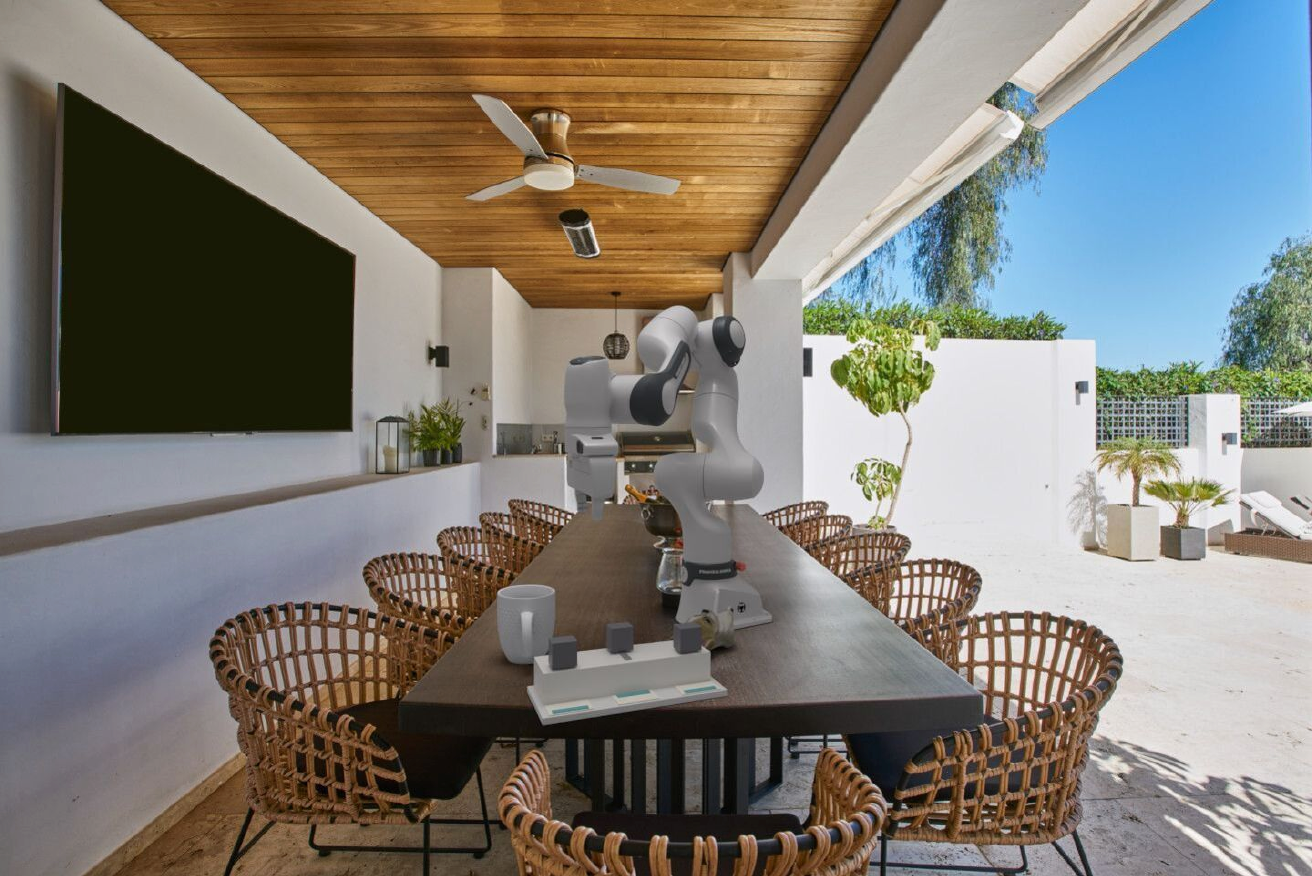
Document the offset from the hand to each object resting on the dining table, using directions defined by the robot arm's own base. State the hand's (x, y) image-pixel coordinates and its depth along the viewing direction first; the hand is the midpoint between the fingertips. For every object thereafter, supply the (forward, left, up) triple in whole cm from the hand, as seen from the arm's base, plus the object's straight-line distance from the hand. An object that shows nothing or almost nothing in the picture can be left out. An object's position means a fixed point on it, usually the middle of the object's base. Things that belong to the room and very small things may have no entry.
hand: (589, 516), depth 122 cm
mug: (+11, -6, -28) cm, 31 cm away
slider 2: (-13, +16, -22) cm, 30 cm away
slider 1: (+9, +16, -22) cm, 28 cm away
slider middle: (-2, +12, -22) cm, 25 cm away
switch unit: (-2, +16, -28) cm, 32 cm away
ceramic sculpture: (-24, +1, -28) cm, 37 cm away
